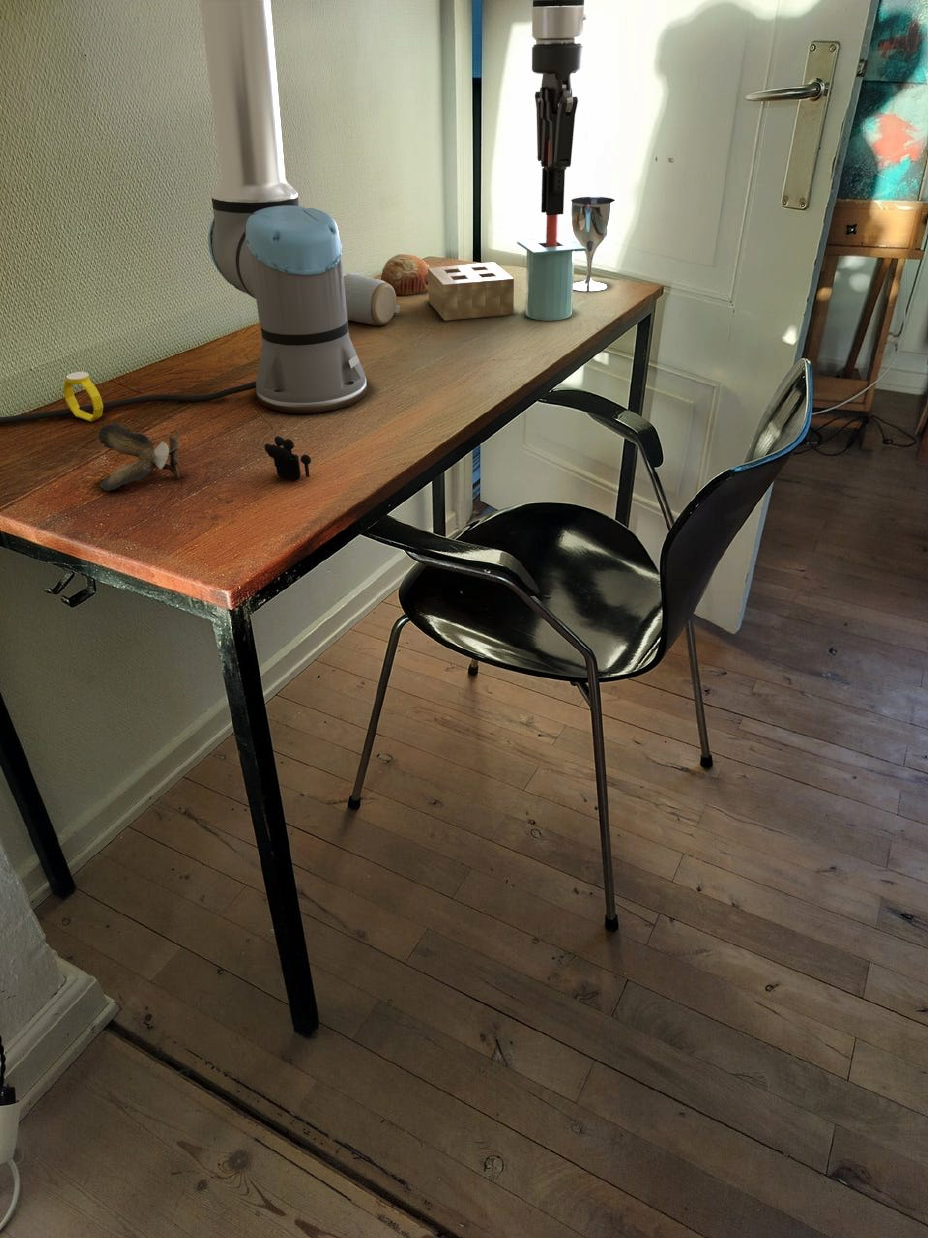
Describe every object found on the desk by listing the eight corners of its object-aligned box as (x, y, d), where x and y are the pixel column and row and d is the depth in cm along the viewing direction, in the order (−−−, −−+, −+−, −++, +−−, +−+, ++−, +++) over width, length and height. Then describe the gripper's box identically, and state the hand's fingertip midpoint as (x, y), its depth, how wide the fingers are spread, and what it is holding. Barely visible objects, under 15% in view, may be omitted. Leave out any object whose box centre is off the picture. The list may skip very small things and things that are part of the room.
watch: (65, 417, 120) (52, 374, 117) (81, 411, 122) (70, 368, 119) (94, 426, 118) (83, 381, 114) (111, 419, 120) (100, 375, 116)
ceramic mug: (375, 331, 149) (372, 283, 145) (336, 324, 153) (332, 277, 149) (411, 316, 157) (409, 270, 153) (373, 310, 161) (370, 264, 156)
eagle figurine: (179, 449, 108) (99, 444, 105) (179, 412, 102) (93, 407, 99) (179, 503, 105) (96, 500, 102) (179, 469, 99) (91, 466, 96)
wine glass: (618, 287, 170) (624, 200, 161) (585, 294, 166) (590, 206, 157) (590, 278, 175) (594, 194, 167) (558, 285, 171) (561, 200, 163)
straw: (547, 268, 151) (551, 140, 140) (544, 265, 152) (547, 139, 141) (557, 267, 151) (561, 140, 140) (554, 264, 152) (558, 138, 142)
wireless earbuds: (316, 483, 102) (311, 441, 99) (301, 491, 100) (295, 449, 98) (272, 469, 105) (266, 428, 103) (257, 477, 104) (250, 436, 101)
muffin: (390, 301, 178) (370, 263, 174) (436, 275, 176) (417, 237, 172) (392, 315, 170) (371, 276, 165) (440, 288, 168) (420, 248, 164)
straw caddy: (444, 320, 154) (443, 284, 150) (428, 301, 164) (427, 267, 160) (513, 314, 156) (514, 278, 153) (494, 296, 166) (494, 262, 163)
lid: (533, 254, 145) (533, 252, 145) (517, 243, 152) (517, 240, 152) (585, 250, 147) (585, 247, 147) (567, 239, 154) (567, 236, 154)
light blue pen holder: (533, 322, 152) (535, 253, 146) (519, 309, 158) (520, 243, 152) (578, 318, 154) (581, 250, 147) (562, 305, 160) (565, 240, 154)
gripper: (599, 42, 128) (590, 219, 142) (564, 39, 140) (558, 203, 153) (549, 44, 127) (544, 223, 140) (518, 41, 139) (516, 206, 152)
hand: (552, 212), depth 147 cm, fingers closed on straw, 2 cm apart
